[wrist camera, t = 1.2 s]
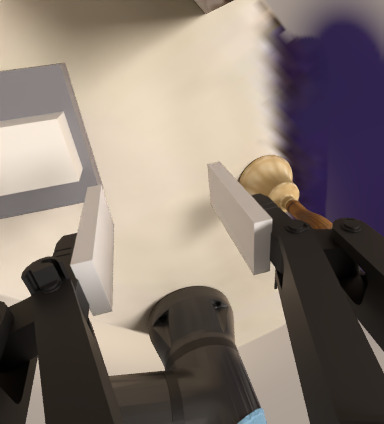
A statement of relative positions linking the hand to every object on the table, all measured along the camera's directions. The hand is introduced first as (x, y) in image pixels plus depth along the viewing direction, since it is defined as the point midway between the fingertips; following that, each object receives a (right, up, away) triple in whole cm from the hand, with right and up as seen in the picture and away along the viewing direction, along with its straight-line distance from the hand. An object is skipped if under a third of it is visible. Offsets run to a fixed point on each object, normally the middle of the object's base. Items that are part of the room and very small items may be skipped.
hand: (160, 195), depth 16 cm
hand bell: (+12, +3, +24) cm, 27 cm away
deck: (-16, +7, +14) cm, 22 cm away
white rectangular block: (-15, +5, +12) cm, 20 cm away
